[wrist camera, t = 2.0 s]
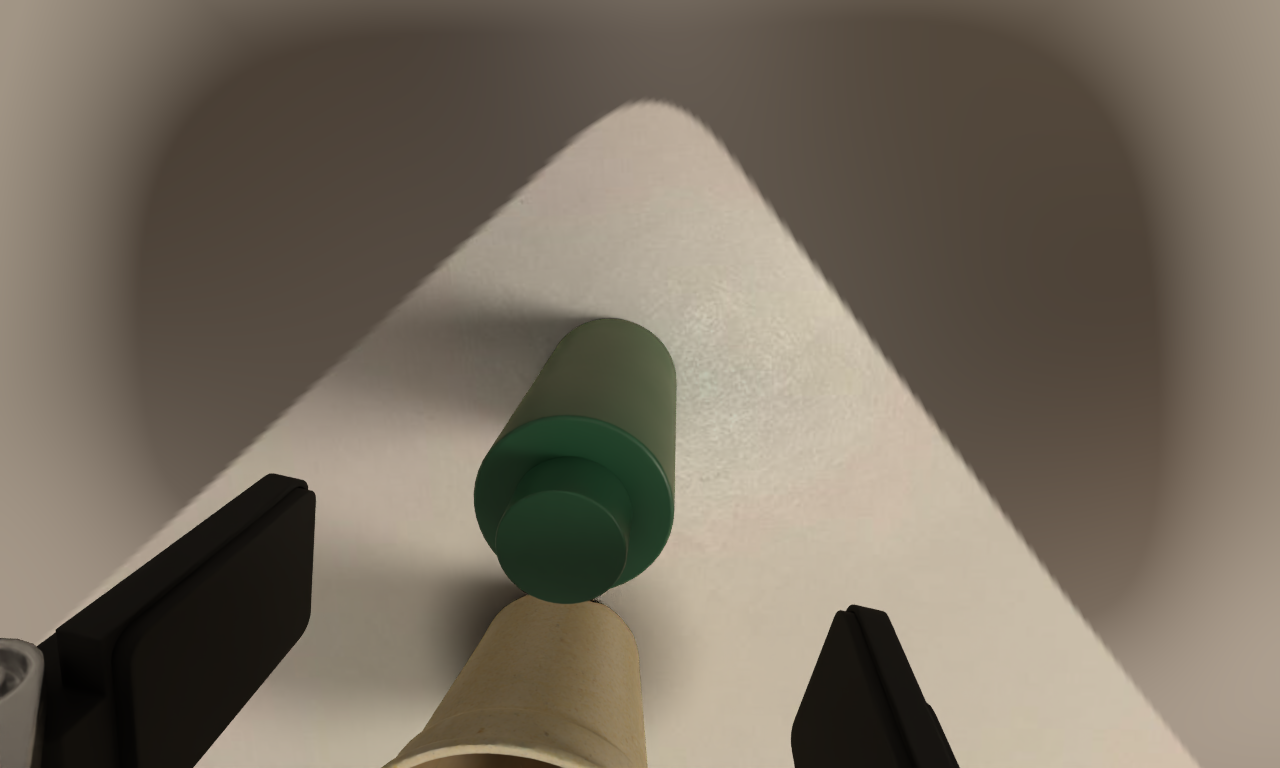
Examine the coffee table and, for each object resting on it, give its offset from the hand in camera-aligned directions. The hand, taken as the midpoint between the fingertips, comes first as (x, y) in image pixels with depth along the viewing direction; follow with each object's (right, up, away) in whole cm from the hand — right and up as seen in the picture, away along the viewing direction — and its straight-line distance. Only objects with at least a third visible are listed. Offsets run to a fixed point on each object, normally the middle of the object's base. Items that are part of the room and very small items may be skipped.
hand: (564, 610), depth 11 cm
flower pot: (-2, -7, +15) cm, 16 cm away
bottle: (0, +4, +11) cm, 11 cm away
